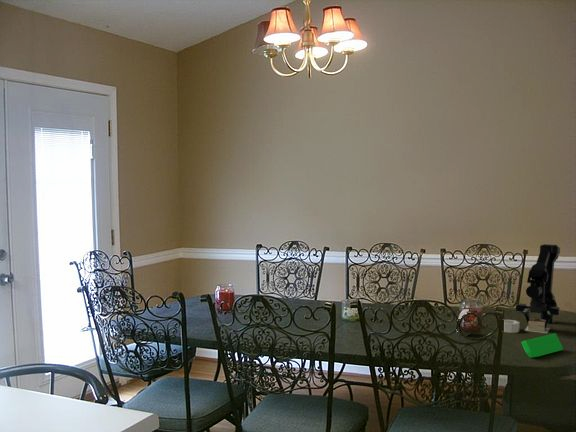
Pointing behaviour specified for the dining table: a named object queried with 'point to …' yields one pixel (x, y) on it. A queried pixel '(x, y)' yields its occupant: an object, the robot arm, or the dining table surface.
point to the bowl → (511, 326)
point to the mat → (537, 331)
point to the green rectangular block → (542, 345)
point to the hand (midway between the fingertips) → (537, 326)
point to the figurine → (463, 313)
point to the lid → (536, 324)
